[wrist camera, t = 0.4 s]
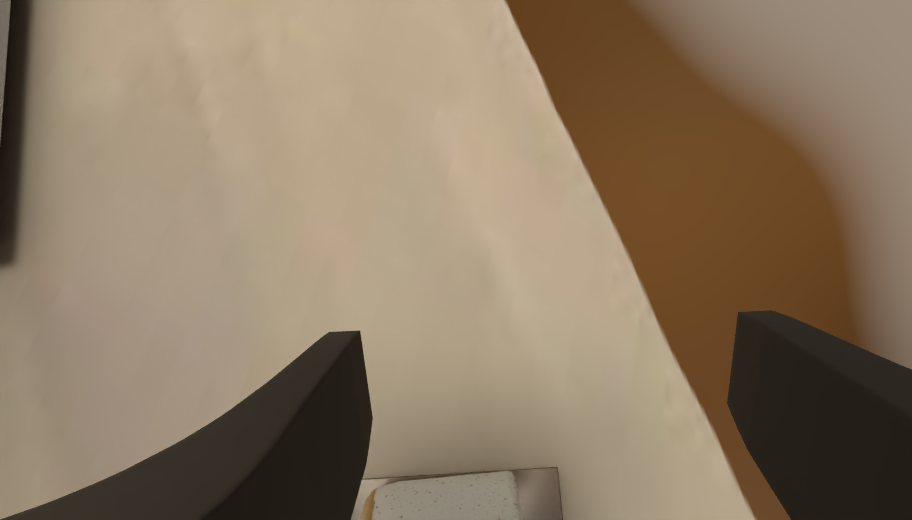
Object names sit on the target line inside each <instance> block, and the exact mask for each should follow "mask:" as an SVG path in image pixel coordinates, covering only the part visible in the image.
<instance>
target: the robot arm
mask: <svg viewBox="0 0 912 520" xmlns="http://www.w3.org/2000/svg"><path fill="white" fill-rule="evenodd" d="M727 404H728V406H729V409H730V411H731V414H732V416H733V418H734V421H735V423H736V425H737V428H738V430H739V432H740V434H741V436H742V439H743V441H744V443H745V445H746V447H747V449H748V451H749V453H750V454H751V456H752V458H753V459H754V461H755V462H756V464H757V466H758V467H759V469H760V471H761V472H762V474H763V476H764V477H765V479H766V480H767V482H768V484H769V485H770V487H771V488H772V490H773V491H774V493H775V495H776V496H777V498H778V499H779V501H780V503H781V504H782V506H783V507H784V509H785V510H786V512H787V514H788V515H789V517H790V518H791V520H912V370H911V369H909V368H906V367H904V366H901V365H899V364H897V363H894V362H892V361H890V360H887V359H885V358H882V357H880V356H878V355H875V354H873V353H871V352H869V351H867V350H864V349H862V348H860V347H857V346H855V345H853V344H850V343H849V342H846V341H844V340H842V339H840V338H837V337H835V336H833V335H831V334H829V333H826V332H824V331H822V330H820V329H817V328H815V327H813V326H810V325H808V324H806V323H804V322H801V321H798V320H796V319H794V318H792V317H789V316H786V315H784V314H781V313H778V312H774V311H751V312H738V317H737V326H736V334H735V343H734V351H733V359H732V367H731V376H730V384H729V392H728V401H727ZM372 419H373V418H372V411H371V404H370V397H369V390H368V383H367V376H366V369H365V362H364V355H363V348H362V341H361V334H360V331H342V332H329V333H327V334H326V335H324V336H323V337H322V338H320V339H319V340H318V341H317V342H315V343H314V344H313V345H312V346H311V347H309V348H308V349H307V350H306V351H305V352H303V353H302V354H301V355H300V356H299V357H298V358H296V359H295V360H294V361H293V362H292V363H290V364H289V365H288V366H287V367H285V368H284V369H283V370H282V371H281V372H279V373H278V374H277V375H276V376H275V377H273V378H272V379H271V380H270V381H268V382H267V383H266V384H264V385H263V386H262V387H260V388H259V389H258V390H256V391H255V392H254V393H252V394H251V395H250V396H248V397H247V398H246V399H244V400H243V401H241V402H240V403H239V404H237V405H236V406H235V407H233V408H232V409H231V410H229V411H228V412H226V413H225V414H223V415H222V416H220V417H219V418H217V419H216V420H214V421H213V422H211V423H210V424H208V425H206V426H205V427H203V428H201V429H200V430H198V431H196V432H195V433H193V434H192V435H190V436H188V437H187V438H185V439H183V440H181V441H180V442H178V443H176V444H174V445H172V446H171V447H169V448H167V449H165V450H163V451H161V452H159V453H157V454H155V455H153V456H151V457H149V458H147V459H145V460H143V461H141V462H139V463H137V464H135V465H134V466H132V467H130V468H128V469H126V470H124V471H122V472H119V473H117V474H115V475H113V476H111V477H108V478H106V479H104V480H102V481H99V482H97V483H95V484H93V485H90V486H88V487H86V488H83V489H81V490H78V491H76V492H73V493H71V494H69V495H66V496H64V497H61V498H59V499H56V500H54V501H51V502H48V503H46V504H43V505H41V506H38V507H35V508H32V509H29V510H27V511H24V512H21V513H18V514H15V515H12V516H9V517H6V518H3V519H1V520H351V517H352V514H353V510H354V507H355V503H356V500H357V496H358V492H359V489H360V485H361V481H362V478H363V474H364V470H365V467H366V462H367V456H368V449H369V442H370V435H371V427H372Z"/></svg>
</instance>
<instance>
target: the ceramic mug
mask: <svg viewBox="0 0 912 520" xmlns="http://www.w3.org/2000/svg"><path fill="white" fill-rule="evenodd" d="M361 520H522V513H521V506H520V501H519V497H518V488H517V483H516V479H515V476H514V474H513V472H511V471H499V472H491V473H480V474H470V475H459V476H450V477H442V478H431V479H420V480H409V481H399V482H395V483H391V484H387V485H384V486H381V487H378V488H376V489H374V490H373V491H372V492H371V493H370V495H369V496H368V497H367V499H366V501H365V503H364V507H363V511H362V516H361Z"/></svg>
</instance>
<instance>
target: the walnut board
mask: <svg viewBox="0 0 912 520" xmlns="http://www.w3.org/2000/svg"><path fill="white" fill-rule="evenodd" d="M503 471H511V472H513V474H514V476H515V479H516V483H517V488H518V497H519V501H520V506H521V513H522V520H563V517H562V507H561V497H560V487H559V477H558V468H557V467H552V468H535V469H519V470H503ZM491 472H499V471H487V472H470V473H454V474H438V475H421V476H405V477H389V478H372V479H362V481H361V485H360V489H359V492H358V496H357V500H356V503H355V507H354V510H353V514H352V517H351V520H361V516H362V511H363V507H364V503H365V501H366V499H367V497H368V496H369V495H370V493H371V492H372V491H373V490H374V489H376V488H378V487H381V486H384V485H387V484H391V483H395V482H399V481H409V480H420V479H431V478H442V477H450V476H459V475H470V474H480V473H491Z"/></svg>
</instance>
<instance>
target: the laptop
mask: <svg viewBox="0 0 912 520" xmlns="http://www.w3.org/2000/svg"><path fill="white" fill-rule="evenodd" d="M10 9H11V0H0V145H1V131H2V118H3V104H4V91H5V77H6V63H7V50H8V36H9V23H10Z"/></svg>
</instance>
